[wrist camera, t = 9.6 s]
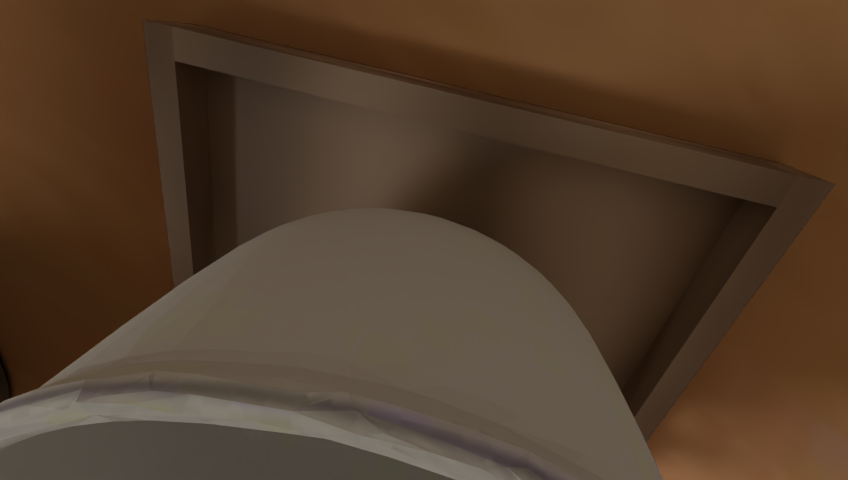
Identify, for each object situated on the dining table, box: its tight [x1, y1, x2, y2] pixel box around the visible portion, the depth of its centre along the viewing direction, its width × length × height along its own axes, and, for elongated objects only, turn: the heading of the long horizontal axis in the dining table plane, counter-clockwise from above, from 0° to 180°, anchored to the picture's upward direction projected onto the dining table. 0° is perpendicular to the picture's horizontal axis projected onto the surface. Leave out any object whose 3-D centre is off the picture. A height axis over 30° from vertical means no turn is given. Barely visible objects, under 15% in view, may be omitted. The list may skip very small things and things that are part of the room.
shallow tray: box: [142, 20, 835, 442], centre depth 14 cm, size 17×17×2 cm
